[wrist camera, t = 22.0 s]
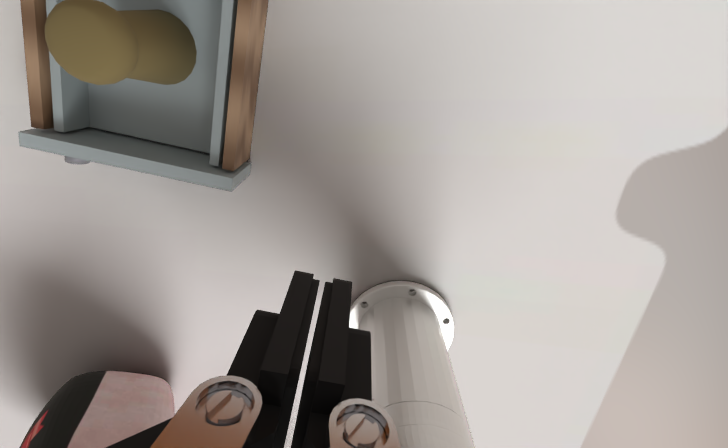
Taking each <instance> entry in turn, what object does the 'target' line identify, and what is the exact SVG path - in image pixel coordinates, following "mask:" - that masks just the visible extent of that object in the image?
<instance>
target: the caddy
mask: <svg viewBox="0 0 728 448" xmlns="http://www.w3.org/2000/svg"><path fill="white" fill-rule="evenodd" d="M20 1H21V12H22V24H23V35H24V47H25V59H26V70H27V82H28V93H29V105H30V117H31V127H34V128H39V129H43V130H44V129H49V128H54V119H53V104H52V88H51V73H50V58H49V49H48V46H47V43H46V40H45V23H46V20H47V12H46V0H20ZM267 8H268V0H238V6H237V17H236V27H235V38H234V48H233V59H232V69H231V80H230V90H229V101H228V111H227V122H226V132H225V143H224V153H223V164H222V169H226V170H231V171H234V170H236V169H237V168H238V167H239V166H241V165H242V164H243V163H244V162H246V161H247V160H248V159H249V157H250V149H251V141H252V132H253V124H254V116H255V107H256V99H257V91H258V82H259V74H260V66H261V58H262V49H263V41H264V33H265V24H266V16H267Z"/></svg>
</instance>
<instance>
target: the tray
mask: <svg viewBox="0 0 728 448" xmlns="http://www.w3.org/2000/svg"><path fill="white" fill-rule="evenodd" d="M62 1H64V0H46V12H47V16H48V15H49V13H50V12H51V11H52V9H53V8H54V7H55V5H56V4H58V3H60V2H62ZM97 1H100V2H104V3H105V4H107V5H109V6H110V7H112V8H113V9H115V10H116V11H124V10H155V9H159V10H162V11H166V12H170V13H171V14H173V15H174V16H176V17H177V18H179V19H180V20H181V21H182V22H183V23H184V24H185V25H186V26H187V27H188V29H189V30H190V32H191V34H192V36H193V38H194V41H195V46H196V50H197V55H196V64H195V66H194V68H193V71H192V73H191V74H190V75H189V76H188V77H187V78H186V79H185V80H184V81H181V82H179V83H177V84H171V85H163V84H157V83H152V82H146V81H141V80H135V79H130V78H125V79H124V80H121V81H119V82H117V83H115V84H106V85H96V84H92V83H88V82H84V81H81V80H79V79H77V78H75V77H73V76H72V75H70V74H68V73H67V72H66V71H65V70H64V69H63V68H62V67H61V66H60V65H59V64H58V63H57V62H56V60H55V59H54V57H53V56H52V54H51V53H50V51H49V58H50V73H51V88H52V104H53V119H54V128H49V129H44V130H43V129H39V128H36V129H30V130H25V131H20V132H18V134H19V144H20V146H22V147H26V148H31V149H36V150H40V151H45V152H50V153H54V154H59V155H64V156H65V161H66V162H68V163H71V164H87V163H89V162H90V161H91V162H96V163H101V164H105V165H110V166H115V167H119V168H124V169H129V170H133V171H138V172H143V173H147V174H152V175H157V176H161V177H166V178H170V179H175V180H180V181H184V182H189V183H194V184H198V185H203V186H208V187H212V188H217V189H222V190H226V191H231V192H232V191H233V190H234V189H235V188H236V187H237V186H238V185H239V184H240V183H241V182H242V181H243V180H245V179H246V178H247V177H248V176H249V175H250V168H251V163H248V162H244V163H243V164H242V165H241V166H239V167H238V168H237V169H236V170H234V171H231V170H226V169H222V164H223V153H224V143H225V132H226V122H227V111H228V101H229V90H230V80H231V69H232V59H233V48H234V38H235V27H236V17H237V6H238V0H97ZM90 127H93V128H90ZM95 128H98V129H95ZM99 129H102V130H99ZM104 130H107V131H104ZM108 131H111V132H108ZM113 132H116V133H113ZM117 133H120V134H117ZM122 134H125V135H122ZM126 135H129V136H126ZM131 136H134V137H131ZM135 137H138V138H135ZM140 138H143V139H140ZM144 139H147V140H144ZM149 140H152V141H149ZM154 141H156V142H154ZM158 142H161V143H158ZM163 143H166V144H163ZM167 144H170V145H167ZM172 145H175V146H172ZM176 146H179V147H176ZM181 147H184V148H181ZM185 148H188V149H185ZM190 149H193V150H190ZM194 150H197V151H194ZM199 151H202V152H199ZM203 152H206V153H203ZM208 153H210V154H208Z"/></svg>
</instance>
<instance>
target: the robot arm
mask: <svg viewBox="0 0 728 448" xmlns="http://www.w3.org/2000/svg"><path fill="white" fill-rule="evenodd" d="M313 275H314V274H310V273H305V272H300V271H295V272H294V275H293V278H292V281H291V283H290V286H289V289H288V292H287V295H286V298H285V301H284V303H283V306H282V309H281V312H280V314H277V313H272V312H267V311H261V310H257V311H256V312H255V314H254V316H253V318H252V321H251V323H250V325H249V327H248V329H247V332H246V334H245V336H244V338H243V341H242V343H241V345H240V347H239V349H238V352H237V354H236V356H235V358H234V360H233V363H232V365H231V367H230V369H229V371H228V374H227V376H219V377H215V378H212V379H209V380H207V381H205V382H203V383H202V384H200V385H199V386H198V387H197V388H196V389H195V390H194V391H193V392H192V393H191V394H190V396H189V397H188V398H187V400H186V401H185V402H184V404H183V405H182V406H181V407H180V409H179V410H178V411H177V413H176V414H175V415H174V417H173V418H170V419H168V420H166V421H164V422H161V423H159V424H157V425H155V426H152V427H150V428H148V429H146V430H144V431H141V432H139V433H137V434H135V435H132V436H130V437H128V438H126V439H123V440H121V441H119V442H117V443H114V444H112V445H110V446H108V447H106V448H284V444H285V440H286V435H287V430H288V426H289V421H290V417H291V412H292V407H293V403H294V398H295V394H296V389H297V384H298V380H299V375H300V371H301V366H302V362H303V357H304V352H305V347H306V343H307V338H308V333H309V329H310V324H311V319H312V315H313V310H314V305H315V301H316V296H317V291H318V286H319V282H320V280H315V279H313ZM410 289H412V290H410ZM351 292H352V282H350V281H345V280H340V279H335V278H334V280H333V283H330V282H325V287H324V291H323V296H322V300H321V305H320V310H319V314H318V319H317V323H316V328H315V332H314V337H313V341H312V346H311V351H310V355H309V360H308V365H307V370H306V375H305V380H304V385H303V390H302V395H301V400H300V405H299V410H298V415H297V420H296V425H295V430H294V435H293V440H292V445H291V448H475V446H474V442H473V438H472V435H471V432H470V428H469V424H468V421H467V417H466V413H465V410H464V406H463V403H462V399H461V396H460V392H459V389H458V385H457V382H456V378H455V375H454V371H453V368H452V364H451V361H450V357H449V353H448V349H449V347H450V345H451V343H452V340H453V336H454V322H453V317H452V314H451V311H450V309H449V307H448V305H447V304H446V302H445V301H444V299H443V298H442V297H441V296H440V295H439V294H438V293H436V292H435V291H433V290H432V289H430V288H428V287H426V286H424V285H422V284H418V283H414V282H409V281H393V282H387V283H383V284H379V285H377V286H375V287H372V288H370V289H369V290H367V291H366V292H364V293H363V294H361V295H360V296H359V297H358V298H357V299H356V300H355V301H354V303H353V304H352V306H351ZM350 306H351V308H350Z"/></svg>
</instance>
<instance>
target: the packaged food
mask: <svg viewBox="0 0 728 448" xmlns="http://www.w3.org/2000/svg"><path fill="white" fill-rule="evenodd" d="M174 415H175V413H174V399H173V394H172V390H171V387H170V386H169V384H168V382H166V381H165V380H164V379H162V378H159V377H156V376H151V375H145V374H137V373H130V372H119V371H97V372H90V373H86V374H82V375H79V376H76V377H74V378H72V379H71V380H70V381H68V382H67V383H66V384H65V385H64V386H63V387H62V388H61V389H60V390H59V391H58V392H57V393H56V394H55V395H54V396H53V397H52V399H51V400H50V401H49V402H48V403H47V405H46V406H45V407H44V408H43V410H42V411H41V412H40V414H39V415H38V417H37V418H36V420H35V421H34V423H33V424H32V426H31V427H30V429H29V431H28V433H27V434H26V436H25V438H24V440H23V442H22V444H21V446H20V448H106V447H108V446H110V445H112V444H114V443H117V442H119V441H121V440H123V439H126V438H128V437H130V436H132V435H135V434H137V433H139V432H141V431H144V430H146V429H148V428H150V427H152V426H155V425H157V424H159V423H161V422H164V421H166V420H168V419H170V418H173V417H174Z"/></svg>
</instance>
